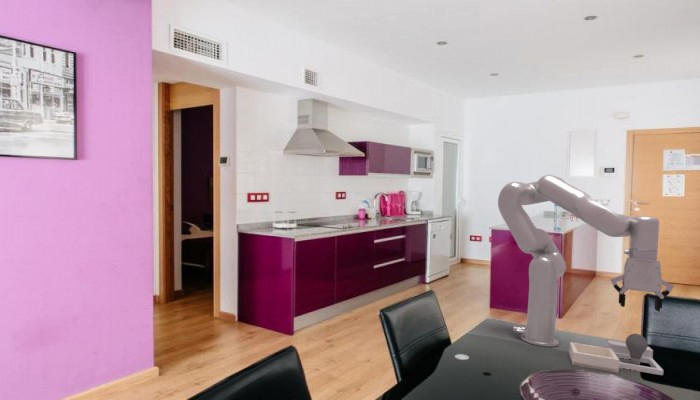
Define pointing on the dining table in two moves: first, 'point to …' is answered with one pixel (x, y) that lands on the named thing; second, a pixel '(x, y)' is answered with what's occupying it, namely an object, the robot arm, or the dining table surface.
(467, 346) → the dining table surface
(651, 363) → the tester cradle
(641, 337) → the light bulb
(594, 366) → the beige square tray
